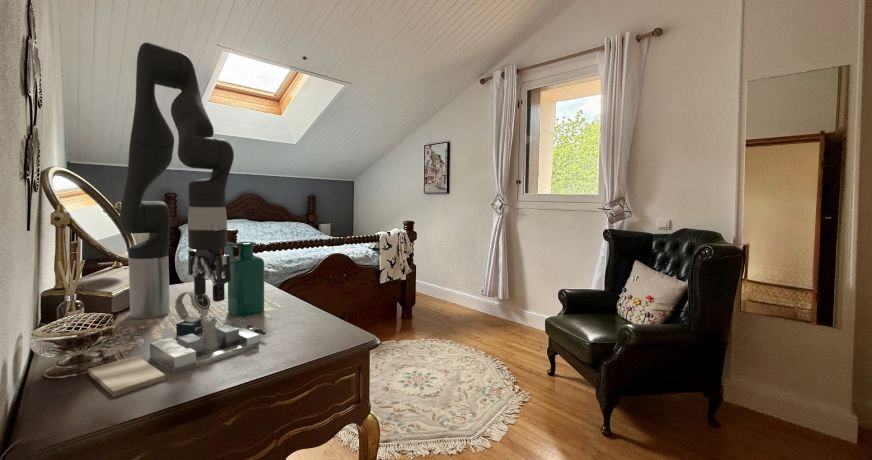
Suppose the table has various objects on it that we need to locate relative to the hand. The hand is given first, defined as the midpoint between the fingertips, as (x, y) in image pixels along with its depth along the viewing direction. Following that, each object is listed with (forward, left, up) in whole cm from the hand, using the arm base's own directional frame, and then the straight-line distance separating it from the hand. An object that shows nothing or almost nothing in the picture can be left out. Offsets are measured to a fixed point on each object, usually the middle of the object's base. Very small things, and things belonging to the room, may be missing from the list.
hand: (209, 297), depth 85 cm
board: (0, -15, -13) cm, 20 cm away
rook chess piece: (0, 0, -13) cm, 13 cm away
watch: (-15, +3, -13) cm, 20 cm away
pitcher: (-21, +20, -13) cm, 32 cm away
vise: (0, +1, -13) cm, 13 cm away
